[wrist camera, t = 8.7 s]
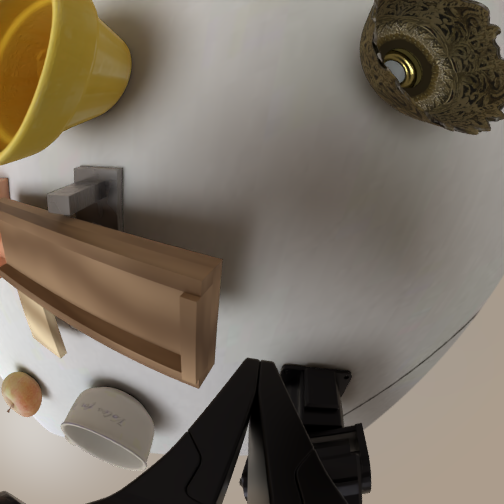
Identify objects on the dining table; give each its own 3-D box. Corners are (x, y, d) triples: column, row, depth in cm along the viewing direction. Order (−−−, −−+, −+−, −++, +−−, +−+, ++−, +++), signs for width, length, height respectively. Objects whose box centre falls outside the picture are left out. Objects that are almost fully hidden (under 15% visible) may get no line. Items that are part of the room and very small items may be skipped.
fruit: (41, 398, 36) (20, 428, 29) (12, 368, 34) (-11, 397, 27) (54, 393, 34) (32, 428, 26) (22, 359, 32) (-5, 392, 24)
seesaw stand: (129, 309, 24) (103, 345, 19) (93, 299, 24) (64, 331, 19) (122, 168, 18) (80, 184, 14) (80, 166, 19) (36, 181, 14)
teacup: (138, 377, 28) (110, 434, 20) (177, 430, 32) (160, 480, 24) (59, 369, 30) (30, 410, 23) (99, 419, 34) (79, 458, 27)
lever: (210, 427, 20) (197, 452, 18) (35, 329, 25) (19, 341, 22) (222, 259, 14) (197, 285, 11) (4, 197, 18) (-19, 205, 16)
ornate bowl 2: (452, 121, 15) (530, 130, 7) (357, 136, 16) (409, 145, 9) (421, 20, 12) (483, -17, 5) (321, 27, 13) (345, -31, 6)
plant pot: (31, 85, 16) (-59, 93, 7) (112, -9, 13) (28, -50, 4) (85, 170, 19) (-14, 210, 10) (185, 71, 16) (97, 35, 7)
